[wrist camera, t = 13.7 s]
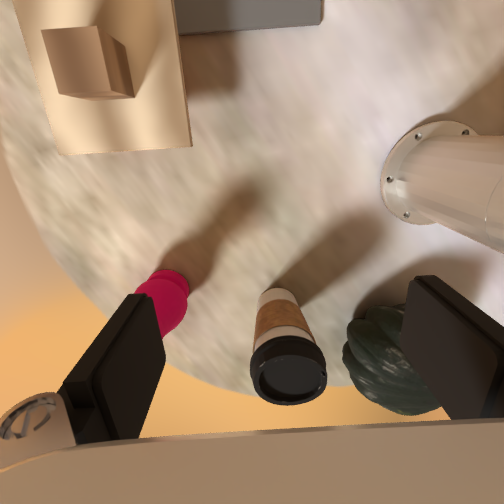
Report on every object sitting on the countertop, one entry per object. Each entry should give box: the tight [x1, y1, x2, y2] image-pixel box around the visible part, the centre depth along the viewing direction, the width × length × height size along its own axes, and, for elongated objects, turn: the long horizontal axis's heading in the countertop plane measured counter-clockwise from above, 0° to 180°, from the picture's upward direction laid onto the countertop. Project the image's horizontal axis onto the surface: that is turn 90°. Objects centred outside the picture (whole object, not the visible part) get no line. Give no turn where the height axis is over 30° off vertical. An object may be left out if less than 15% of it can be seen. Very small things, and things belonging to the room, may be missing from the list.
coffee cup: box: [250, 288, 327, 406], centre depth 37 cm, size 8×8×15 cm
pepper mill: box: [134, 270, 189, 339], centre depth 33 cm, size 7×7×20 cm
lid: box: [12, 0, 193, 155], centre depth 24 cm, size 13×13×6 cm
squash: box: [342, 304, 441, 416], centre depth 40 cm, size 14×15×15 cm
